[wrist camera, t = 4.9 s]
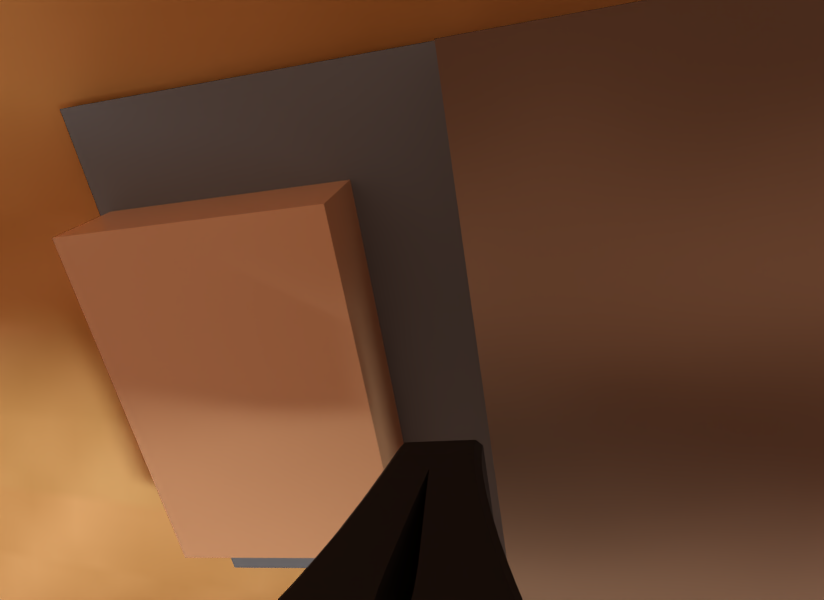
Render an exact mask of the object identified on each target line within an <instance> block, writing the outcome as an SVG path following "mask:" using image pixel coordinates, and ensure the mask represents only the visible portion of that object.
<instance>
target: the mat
mask: <svg viewBox="0 0 824 600" xmlns="http://www.w3.org/2000/svg"><path fill="white" fill-rule="evenodd" d="M60 111H61V114H62V116H63V119H64V121H65V124H66V127H67V129H68V132H69V134H70V137H71V140H72V142H73V145H74V148H75V150H76V153H77V155H78V158H79V161H80V163H81V166H82V169H83V171H84V174H85V176H86V179H87V182H88V184H89V187H90V189H91V192H92V195H93V197H94V200H95V203H96V205H97V208H98V210H99V213H100V216H102V215H104V214H106V213H108V212H111V211H118V210H126V209H134V208H141V207H149V206H156V205H164V204H171V203H179V202H186V201H194V200H201V199H209V198H216V197H224V196H231V195H239V194H246V193H254V192H261V191H269V190H276V189H284V188H291V187H299V186H306V185H314V184H321V183H329V182H336V181H344V180H350V182H351V187H352V191H353V196H354V201H355V206H356V211H357V216H358V221H359V226H360V231H361V236H362V241H363V245H364V250H365V255H366V260H367V265H368V270H369V275H370V280H371V285H372V290H373V295H374V299H375V304H376V309H377V314H378V319H379V324H380V329H381V334H382V339H383V344H384V349H385V353H386V358H387V363H388V368H389V373H390V378H391V383H392V388H393V393H394V398H395V402H396V407H397V412H398V417H399V422H400V427H401V432H402V437H403V442H404V443H405V442H428V441H454V440H477V441H478V442H479V443H481V444H482V445H483V448H484V455H485V462H486V469H487V476H488V483H489V490H490V497H491V504H492V511H493V518H494V523H495V526H496V529H497V532H498V536H499V539H500V542H501V545H502V548H503V550H504V553H505V556H506V549H505V542H504V535H503V527H502V520H501V513H500V506H499V499H498V492H497V484H496V477H495V470H494V463H493V456H492V449H491V441H490V434H489V427H488V420H487V413H486V406H485V398H484V391H483V384H482V377H481V370H480V363H479V355H478V348H477V341H476V334H475V327H474V320H473V312H472V305H471V298H470V291H469V284H468V277H467V269H466V262H465V255H464V248H463V241H462V234H461V226H460V219H459V212H458V205H457V198H456V191H455V183H454V176H453V169H452V162H451V155H450V148H449V140H448V133H447V126H446V119H445V112H444V105H443V97H442V90H441V83H440V76H439V69H438V62H437V54H436V47H435V41H430V42H424V43H419V44H413V45H408V46H402V47H397V48H391V49H386V50H380V51H375V52H369V53H364V54H359V55H353V56H348V57H342V58H337V59H331V60H326V61H320V62H315V63H309V64H304V65H298V66H293V67H288V68H282V69H277V70H271V71H266V72H260V73H255V74H249V75H244V76H238V77H233V78H227V79H222V80H216V81H211V82H206V83H200V84H195V85H189V86H184V87H178V88H173V89H167V90H162V91H156V92H151V93H145V94H140V95H135V96H129V97H124V98H118V99H113V100H107V101H102V102H96V103H91V104H85V105H80V106H74V107H69V108H64V109H60ZM231 559H232V561H233V564H234V567H244V568H307V567H308V566H309V565H310V563H311V562H312V561H313V560H314V559H315V558H231ZM506 559H507V556H506Z"/></svg>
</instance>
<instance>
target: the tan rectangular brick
mask: <svg viewBox="0 0 824 600" xmlns="http://www.w3.org/2000/svg"><path fill="white" fill-rule="evenodd" d="M52 239H53V242H54V244H55V246H56V249H57V251H58V254H59V256H60V258H61V261H62V263H63V266H64V268H65V270H66V273H67V275H68V278H69V280H70V282H71V285H72V287H73V290H74V292H75V294H76V297H77V299H78V302H79V304H80V306H81V309H82V311H83V314H84V316H85V318H86V321H87V323H88V326H89V328H90V330H91V333H92V335H93V338H94V340H95V342H96V345H97V347H98V350H99V352H100V354H101V357H102V359H103V362H104V364H105V366H106V369H107V371H108V374H109V376H110V378H111V381H112V383H113V386H114V388H115V390H116V393H117V395H118V398H119V400H120V402H121V405H122V407H123V410H124V412H125V414H126V417H127V419H128V422H129V424H130V426H131V429H132V431H133V434H134V436H135V438H136V441H137V443H138V446H139V448H140V450H141V453H142V455H143V458H144V460H145V462H146V465H147V467H148V470H149V472H150V474H151V477H152V479H153V482H154V484H155V486H156V489H157V491H158V494H159V496H160V498H161V501H162V503H163V506H164V508H165V510H166V513H167V515H168V518H169V520H170V522H171V525H172V527H173V530H174V532H175V534H176V537H177V539H178V542H179V544H180V546H181V549H182V551H183V554H184V556H185V558H316V556H317V555H318V554H319V553H320V552H321V551H322V549H323V548H324V547H325V546H326V545H327V544H328V542H329V541H330V540H331V539H332V538H333V536H334V535H335V534H336V533H337V532H338V530H339V529H340V528H341V526H342V525H343V524H344V523H345V521H346V520H347V519H348V517H349V516H350V515H351V514H352V512H353V511H354V510H355V508H356V507H357V506H358V505H359V503H360V502H361V501H362V499H363V498H364V497H365V495H366V494H367V493H368V491H369V490H370V488H371V487H372V486H373V484H374V483H375V482H376V480H377V479H378V477H379V476H380V475H381V473H382V472H383V470H384V469H385V468H386V466H387V465H388V463H389V462H390V461H391V459H392V458H393V456H394V455H395V454H396V452H397V451H398V449H399V448H400V447H401V446H402V445H403V444H404V442H403V437H402V432H401V427H400V422H399V417H398V412H397V407H396V402H395V398H394V393H393V388H392V383H391V378H390V373H389V368H388V363H387V358H386V353H385V349H384V344H383V339H382V334H381V329H380V324H379V319H378V314H377V309H376V304H375V299H374V295H373V290H372V285H371V280H370V275H369V270H368V265H367V260H366V255H365V250H364V245H363V241H362V236H361V231H360V226H359V221H358V216H357V211H356V206H355V201H354V196H353V191H352V187H351V182H350V180H344V181H336V182H329V183H321V184H314V185H306V186H299V187H291V188H284V189H276V190H269V191H261V192H254V193H246V194H239V195H231V196H224V197H216V198H209V199H201V200H194V201H186V202H179V203H171V204H164V205H156V206H149V207H141V208H134V209H126V210H118V211H111V212H108V213H106V214H104V215H102V216H100V217H97V218H95V219H93V220H91V221H88V222H86V223H84V224H82V225H80V226H77V227H75V228H73V229H71V230H68V231H66V232H64V233H62V234H60V235H57V236H55V237H53V238H52Z"/></svg>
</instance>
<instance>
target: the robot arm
mask: <svg viewBox="0 0 824 600" xmlns="http://www.w3.org/2000/svg"><path fill="white" fill-rule="evenodd" d="M278 600H523V599H522V596H521V594H520V592H519V589H518V587H517V584H516V582H515V579H514V577H513V574H512V572H511V569H510V566H509V564H508V561H507V559H506V556H505V553H504V550H503V548H502V545H501V542H500V539H499V536H498V532H497V529H496V526H495V523H494V518H493V511H492V504H491V497H490V490H489V483H488V476H487V469H486V462H485V455H484V448H483V445H482V444H481V443H479V442H478V441H477V440H454V441H428V442H405V443H404V444H403V445H402V446H401V447H400V448H399V449H398V451H397V452H396V454H395V455H394V456H393V458H392V459H391V461H390V462H389V463H388V465H387V466H386V468H385V469H384V470H383V472H382V473H381V475H380V476H379V477H378V479H377V480H376V482H375V483H374V484H373V486H372V487H371V488H370V490H369V491H368V493H367V494H366V495H365V497H364V498H363V499H362V501H361V502H360V503H359V505H358V506H357V507H356V508H355V510H354V511H353V512H352V514H351V515H350V516H349V517H348V519H347V520H346V521H345V523H344V524H343V525H342V526H341V528H340V529H339V530H338V532H337V533H336V534H335V535H334V536H333V538H332V539H331V540H330V541H329V542H328V544H327V545H326V546H325V547H324V548H323V549H322V551H321V552H320V553H319V554H318V555H317V556H316V558H315V559H314V560H313V561H312V562H311V563H310V565H309V566H308V567H307V568H306V569H305V570H304V571H303V573H302V574H301V575H300V576H299V577H298V578H297V579H296V581H295V582H294V583H293V584H292V585H291V586H290V587H289V588H288V589H287V590H286V591H285V592H284V593H283V594H282V596H281V597H280V598H279V599H278Z"/></svg>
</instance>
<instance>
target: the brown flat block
mask: <svg viewBox="0 0 824 600" xmlns="http://www.w3.org/2000/svg"><path fill="white" fill-rule="evenodd" d="M434 40H435V47H436V54H437V62H438V69H439V76H440V83H441V90H442V97H443V105H444V112H445V119H446V126H447V133H448V140H449V148H450V155H451V162H452V169H453V176H454V183H455V191H456V198H457V205H458V212H459V219H460V226H461V234H462V241H463V248H464V255H465V262H466V269H467V277H468V284H469V291H470V298H471V305H472V312H473V320H474V327H475V334H476V341H477V348H478V355H479V363H480V370H481V377H482V384H483V391H484V398H485V406H486V413H487V420H488V427H489V434H490V441H491V449H492V456H493V463H494V470H495V477H496V484H497V492H498V499H499V506H500V513H501V520H502V527H503V535H504V542H505V549H506V556H507V561H508V564H509V566H510V569H511V572H512V574H513V577H514V579H515V582H516V584H517V587H518V589H519V592H520V594H521V596H522V599H523V600H824V0H643V1H638V2H632V3H627V4H622V5H616V6H611V7H605V8H600V9H594V10H589V11H583V12H578V13H573V14H567V15H562V16H556V17H551V18H545V19H540V20H534V21H529V22H524V23H518V24H513V25H507V26H502V27H496V28H491V29H485V30H480V31H475V32H469V33H464V34H458V35H453V36H447V37H442V38H436V39H434Z"/></svg>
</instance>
